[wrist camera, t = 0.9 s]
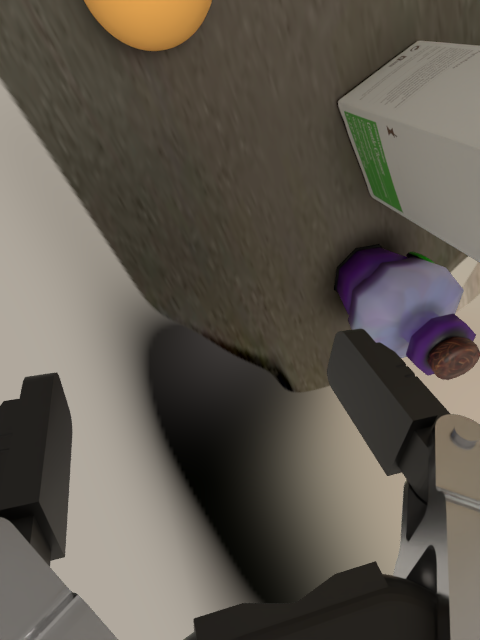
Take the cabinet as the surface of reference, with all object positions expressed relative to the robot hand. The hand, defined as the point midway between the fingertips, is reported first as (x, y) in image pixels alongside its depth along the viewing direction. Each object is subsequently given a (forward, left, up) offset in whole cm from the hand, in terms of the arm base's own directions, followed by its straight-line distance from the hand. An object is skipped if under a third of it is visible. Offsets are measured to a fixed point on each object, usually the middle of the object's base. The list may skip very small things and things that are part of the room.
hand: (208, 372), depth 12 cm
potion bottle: (-14, +14, -18) cm, 27 cm away
